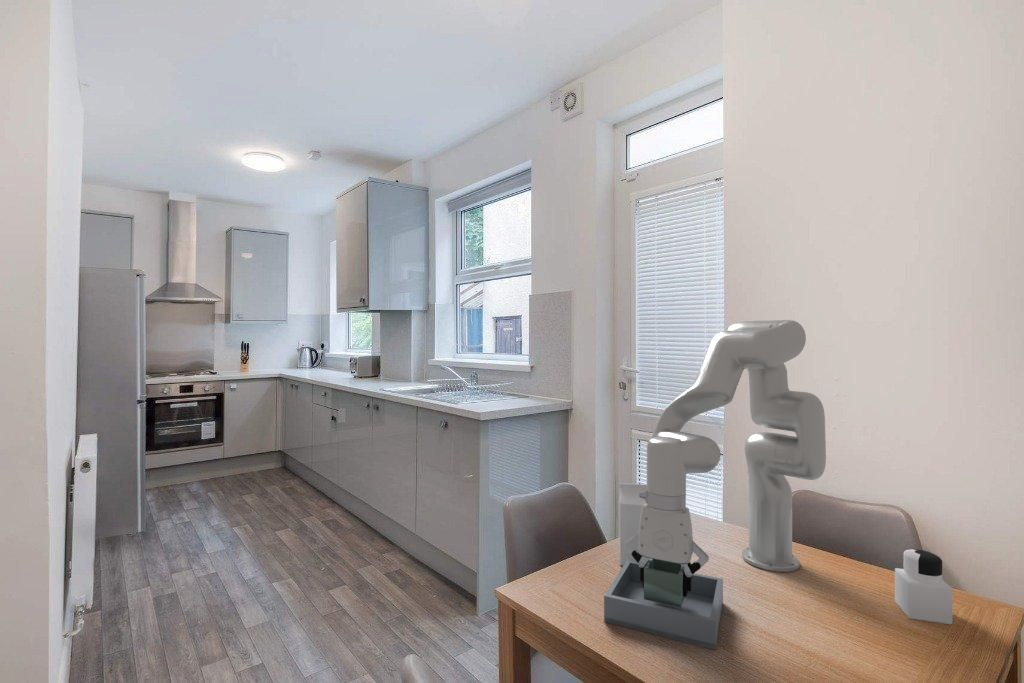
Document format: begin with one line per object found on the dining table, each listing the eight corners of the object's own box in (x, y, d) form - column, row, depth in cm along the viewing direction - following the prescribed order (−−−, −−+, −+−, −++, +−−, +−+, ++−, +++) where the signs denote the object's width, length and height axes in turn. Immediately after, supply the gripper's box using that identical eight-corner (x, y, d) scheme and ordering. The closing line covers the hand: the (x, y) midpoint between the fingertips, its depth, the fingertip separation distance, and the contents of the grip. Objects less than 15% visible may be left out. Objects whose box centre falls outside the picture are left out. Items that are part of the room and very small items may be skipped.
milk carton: (650, 568, 120) (650, 488, 120) (619, 565, 122) (620, 487, 122) (648, 556, 127) (648, 480, 127) (619, 553, 129) (619, 479, 129)
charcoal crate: (626, 582, 113) (626, 560, 113) (722, 603, 105) (723, 578, 105) (604, 621, 97) (604, 595, 97) (715, 650, 88) (715, 621, 88)
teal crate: (650, 584, 106) (651, 555, 106) (686, 591, 102) (686, 562, 102) (643, 599, 99) (644, 568, 99) (681, 607, 96) (681, 576, 96)
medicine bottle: (935, 607, 103) (935, 548, 103) (953, 625, 97) (953, 562, 97) (894, 601, 106) (894, 544, 106) (908, 619, 99) (908, 557, 99)
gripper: (618, 499, 102) (617, 587, 101) (710, 512, 94) (710, 608, 94) (627, 489, 108) (626, 572, 108) (714, 501, 100) (713, 591, 100)
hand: (665, 588), depth 101 cm, fingers closed on teal crate, 7 cm apart
